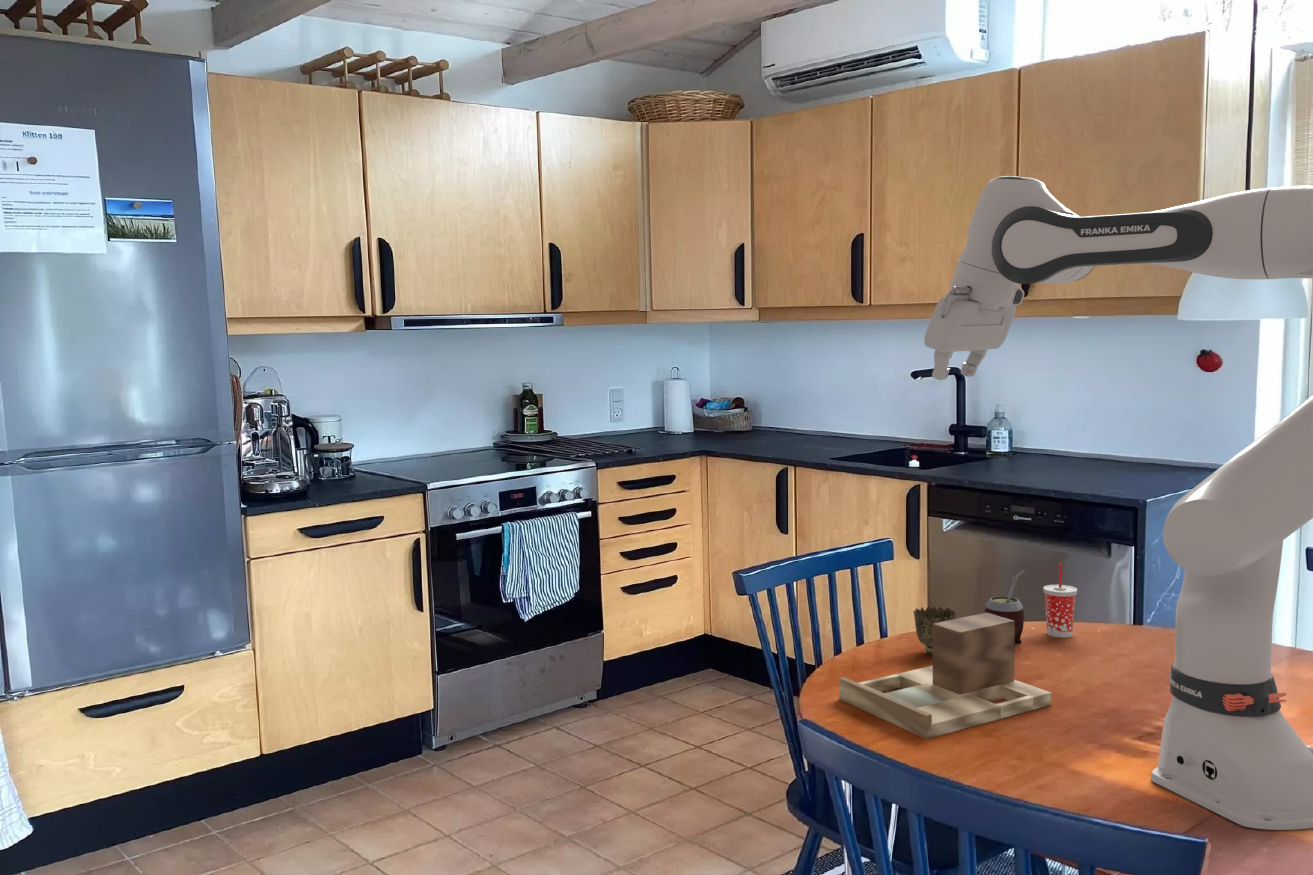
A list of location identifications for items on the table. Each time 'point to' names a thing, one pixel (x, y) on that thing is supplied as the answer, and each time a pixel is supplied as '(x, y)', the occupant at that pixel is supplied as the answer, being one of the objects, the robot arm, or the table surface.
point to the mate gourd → (1008, 609)
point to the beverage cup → (1060, 608)
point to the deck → (938, 702)
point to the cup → (930, 624)
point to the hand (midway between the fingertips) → (953, 377)
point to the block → (973, 652)
